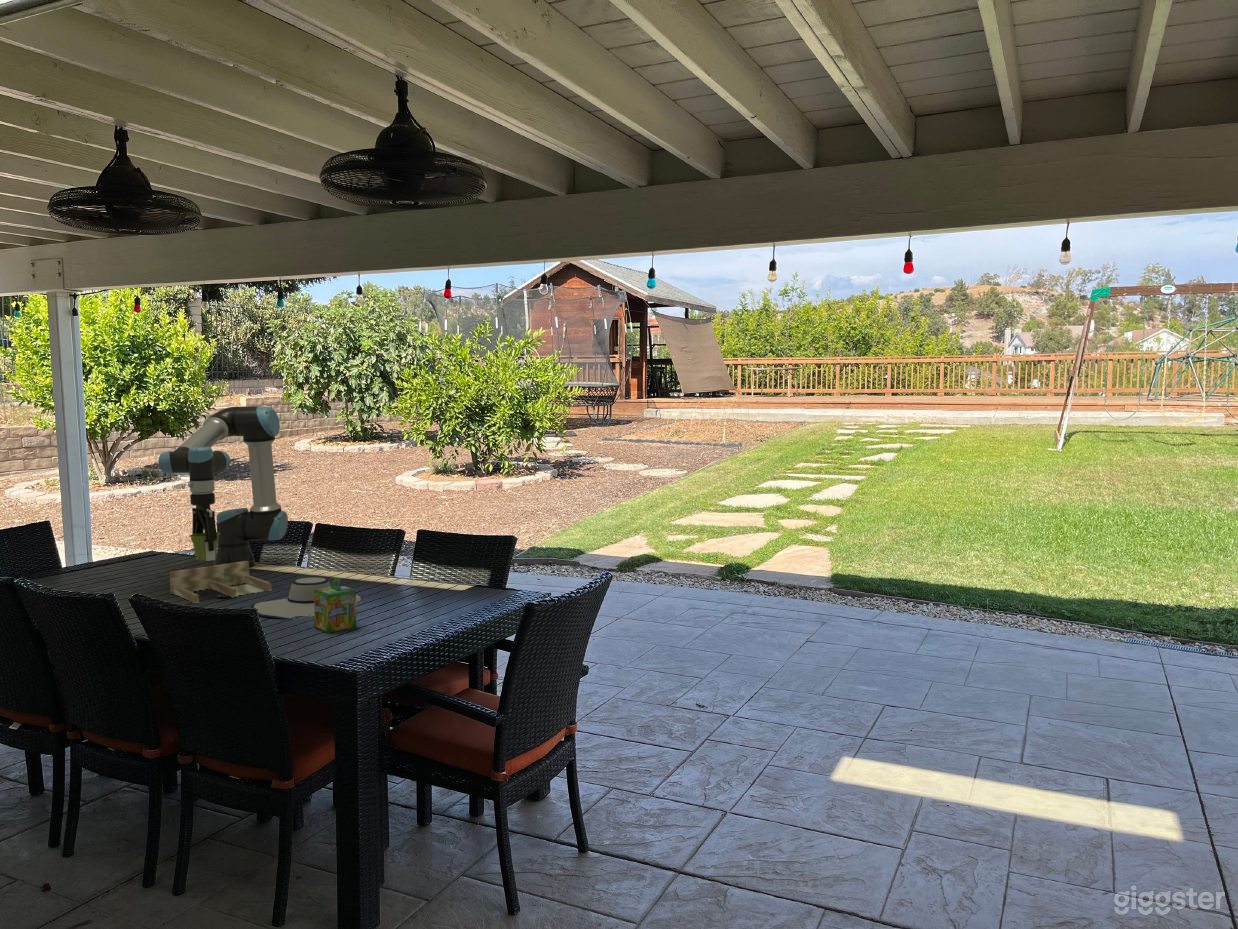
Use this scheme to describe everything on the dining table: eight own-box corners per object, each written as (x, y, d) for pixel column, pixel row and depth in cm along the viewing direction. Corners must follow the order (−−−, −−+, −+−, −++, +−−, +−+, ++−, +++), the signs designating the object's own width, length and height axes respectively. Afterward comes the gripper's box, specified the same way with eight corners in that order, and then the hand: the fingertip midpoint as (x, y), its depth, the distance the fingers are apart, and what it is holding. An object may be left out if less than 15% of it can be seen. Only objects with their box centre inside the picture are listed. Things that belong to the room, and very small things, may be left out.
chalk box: (313, 627, 255) (312, 578, 254) (342, 622, 261) (341, 573, 260) (328, 634, 248) (326, 583, 247) (357, 627, 255) (356, 578, 254)
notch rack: (248, 582, 318) (247, 560, 317) (273, 591, 303) (272, 568, 303) (170, 594, 299) (169, 572, 298) (193, 604, 284) (192, 580, 283)
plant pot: (189, 563, 289) (188, 537, 288) (192, 557, 298) (190, 533, 297) (220, 560, 292) (219, 535, 292) (221, 555, 301) (220, 531, 300)
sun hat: (255, 627, 259) (254, 597, 258) (247, 602, 291) (246, 575, 290) (378, 612, 275) (377, 584, 274) (357, 590, 307) (356, 564, 306)
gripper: (179, 491, 298) (182, 556, 300) (202, 496, 283) (205, 564, 285) (202, 489, 303) (205, 553, 305) (226, 494, 288) (229, 561, 290)
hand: (205, 558), depth 295 cm, fingers closed on plant pot, 8 cm apart
